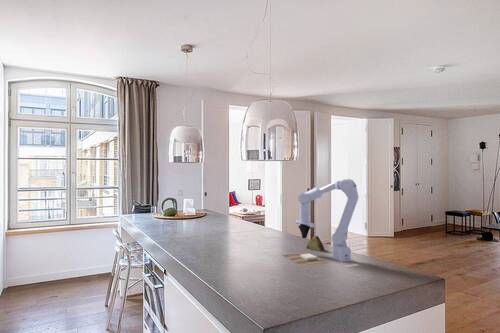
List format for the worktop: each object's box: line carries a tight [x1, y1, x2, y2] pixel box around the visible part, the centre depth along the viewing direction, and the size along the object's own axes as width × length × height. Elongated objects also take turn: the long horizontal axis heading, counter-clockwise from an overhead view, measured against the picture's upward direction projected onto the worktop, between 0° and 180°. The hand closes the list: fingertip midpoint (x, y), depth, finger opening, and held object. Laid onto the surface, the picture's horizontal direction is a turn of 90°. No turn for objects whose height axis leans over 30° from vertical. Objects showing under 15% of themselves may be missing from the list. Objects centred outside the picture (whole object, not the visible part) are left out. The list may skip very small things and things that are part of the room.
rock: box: [306, 235, 326, 252], centre depth 200 cm, size 11×9×10 cm
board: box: [281, 251, 329, 266], centre depth 177 cm, size 22×16×1 cm
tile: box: [300, 253, 317, 261], centre depth 177 cm, size 2×6×7 cm
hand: (304, 238), depth 188 cm, fingers closed
